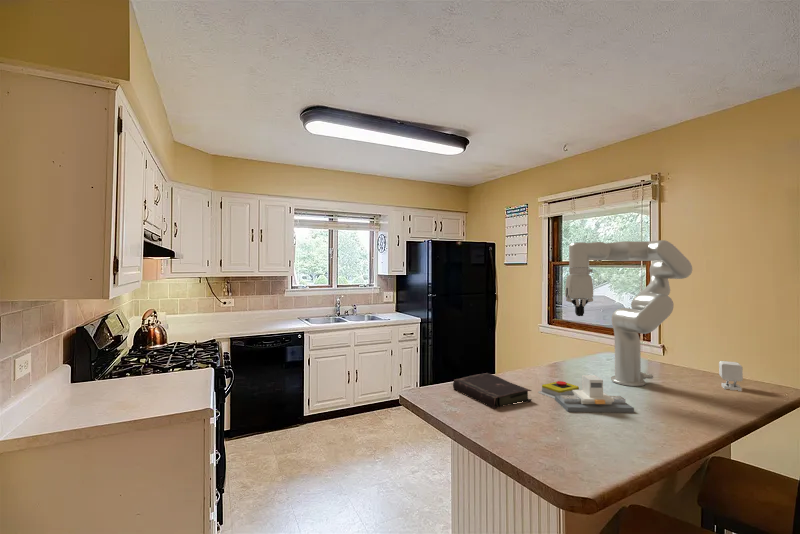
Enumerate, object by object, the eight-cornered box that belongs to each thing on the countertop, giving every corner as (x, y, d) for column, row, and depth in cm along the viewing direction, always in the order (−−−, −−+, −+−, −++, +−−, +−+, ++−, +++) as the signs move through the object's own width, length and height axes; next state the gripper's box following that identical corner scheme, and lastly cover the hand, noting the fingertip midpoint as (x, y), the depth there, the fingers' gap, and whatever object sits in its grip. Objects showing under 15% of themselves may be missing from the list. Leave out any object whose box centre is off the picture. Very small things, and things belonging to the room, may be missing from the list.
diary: (494, 411, 131) (493, 397, 131) (452, 391, 153) (452, 378, 153) (533, 402, 139) (533, 388, 139) (489, 384, 162) (488, 372, 162)
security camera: (739, 387, 154) (739, 362, 154) (743, 391, 148) (743, 366, 148) (719, 384, 157) (718, 360, 158) (722, 389, 151) (722, 364, 152)
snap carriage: (600, 396, 138) (600, 390, 139) (615, 407, 127) (615, 400, 128) (572, 396, 139) (572, 389, 139) (585, 406, 128) (585, 400, 128)
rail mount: (615, 400, 139) (615, 392, 139) (634, 412, 127) (633, 403, 127) (554, 399, 140) (554, 391, 140) (567, 411, 128) (567, 402, 128)
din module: (595, 391, 137) (595, 375, 137) (603, 397, 130) (603, 380, 131) (582, 391, 137) (582, 375, 137) (589, 397, 131) (589, 380, 131)
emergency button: (582, 383, 147) (555, 388, 141) (583, 394, 147) (555, 400, 141) (563, 377, 156) (536, 382, 149) (563, 388, 156) (536, 393, 149)
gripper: (593, 271, 161) (593, 314, 161) (557, 272, 162) (558, 314, 162) (601, 271, 154) (602, 316, 154) (564, 272, 155) (565, 316, 154)
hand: (579, 315), depth 158 cm, fingers closed
